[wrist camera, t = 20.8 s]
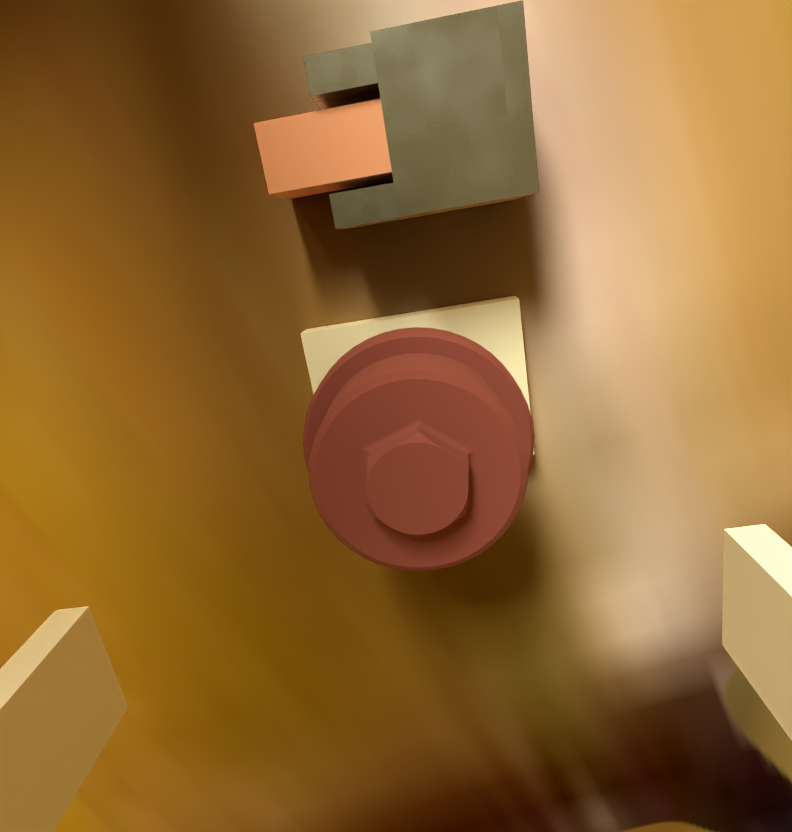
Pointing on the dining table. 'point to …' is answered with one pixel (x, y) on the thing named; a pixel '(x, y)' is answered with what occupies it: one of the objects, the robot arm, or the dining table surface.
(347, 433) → the mechanical component
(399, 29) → the housing
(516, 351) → the block
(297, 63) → the dining table surface
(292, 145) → the key
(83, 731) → the robot arm
